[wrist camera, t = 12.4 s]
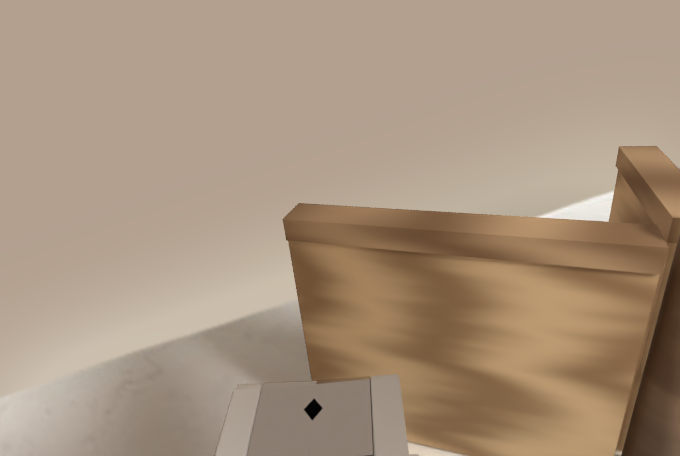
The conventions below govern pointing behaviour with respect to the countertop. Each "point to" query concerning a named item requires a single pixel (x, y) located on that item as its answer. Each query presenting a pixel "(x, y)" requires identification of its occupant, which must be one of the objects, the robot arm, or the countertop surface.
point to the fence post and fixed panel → (668, 305)
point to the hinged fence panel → (481, 320)
